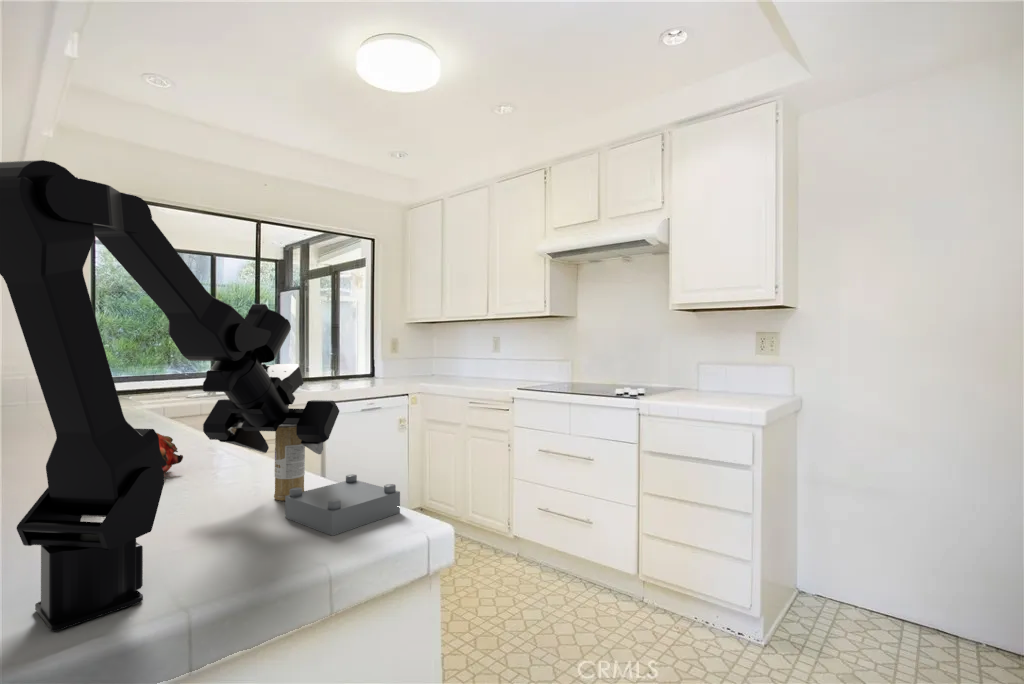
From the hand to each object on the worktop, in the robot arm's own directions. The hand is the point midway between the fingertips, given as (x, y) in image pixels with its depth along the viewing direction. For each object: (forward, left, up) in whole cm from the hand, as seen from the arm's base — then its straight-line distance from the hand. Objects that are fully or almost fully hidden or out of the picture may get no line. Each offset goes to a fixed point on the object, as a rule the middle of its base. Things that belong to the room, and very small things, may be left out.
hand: (293, 451), depth 81 cm
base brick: (-1, -15, -7) cm, 16 cm away
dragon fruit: (-9, +32, -7) cm, 34 cm away
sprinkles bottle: (-1, -1, -7) cm, 7 cm away
